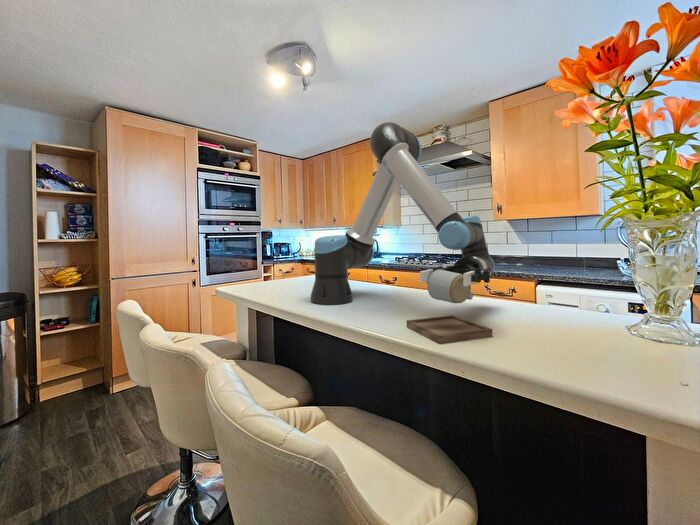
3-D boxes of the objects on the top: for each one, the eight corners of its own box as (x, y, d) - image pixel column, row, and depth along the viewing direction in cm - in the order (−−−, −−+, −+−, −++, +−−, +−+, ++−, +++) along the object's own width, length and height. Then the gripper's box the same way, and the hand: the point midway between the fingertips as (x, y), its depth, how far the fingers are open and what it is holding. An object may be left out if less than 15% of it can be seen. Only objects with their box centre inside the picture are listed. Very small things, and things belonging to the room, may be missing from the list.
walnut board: (406, 326, 81) (406, 320, 81) (452, 321, 85) (452, 315, 85) (439, 344, 68) (439, 336, 67) (492, 336, 72) (492, 329, 72)
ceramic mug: (451, 306, 71) (452, 272, 70) (426, 300, 78) (426, 270, 77) (481, 301, 76) (482, 270, 75) (455, 296, 83) (456, 268, 82)
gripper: (512, 285, 84) (494, 299, 66) (432, 280, 97) (398, 291, 78) (513, 257, 83) (495, 263, 65) (432, 256, 96) (398, 260, 78)
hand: (442, 278), depth 72 cm, fingers closed on ceramic mug, 9 cm apart
